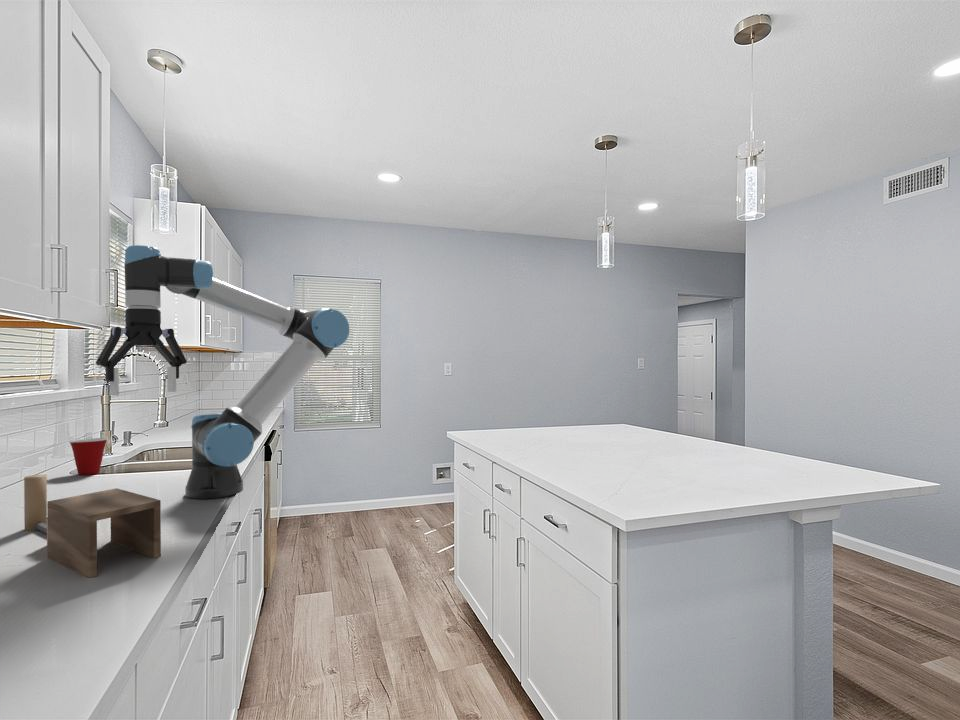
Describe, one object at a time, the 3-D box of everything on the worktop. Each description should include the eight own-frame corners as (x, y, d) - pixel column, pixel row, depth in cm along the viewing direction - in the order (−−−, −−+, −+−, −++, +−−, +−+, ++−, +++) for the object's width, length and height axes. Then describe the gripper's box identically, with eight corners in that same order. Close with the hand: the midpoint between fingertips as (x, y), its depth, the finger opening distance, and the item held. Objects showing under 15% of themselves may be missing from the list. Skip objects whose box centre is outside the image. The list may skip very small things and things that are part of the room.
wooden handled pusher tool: (48, 523, 128) (47, 473, 128) (92, 542, 115) (91, 486, 115) (16, 530, 123) (15, 477, 123) (58, 551, 110) (58, 492, 110)
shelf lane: (116, 539, 117) (116, 488, 117) (160, 556, 107) (160, 500, 107) (47, 557, 106) (47, 501, 106) (89, 577, 97) (89, 515, 97)
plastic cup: (109, 469, 189) (109, 435, 189) (106, 474, 180) (106, 439, 180) (71, 472, 184) (71, 437, 184) (66, 478, 175) (66, 441, 175)
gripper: (184, 312, 147) (185, 389, 147) (78, 305, 126) (79, 396, 126) (200, 311, 143) (201, 390, 143) (93, 304, 122) (94, 397, 122)
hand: (144, 393), depth 135 cm, fingers open, 13 cm apart
